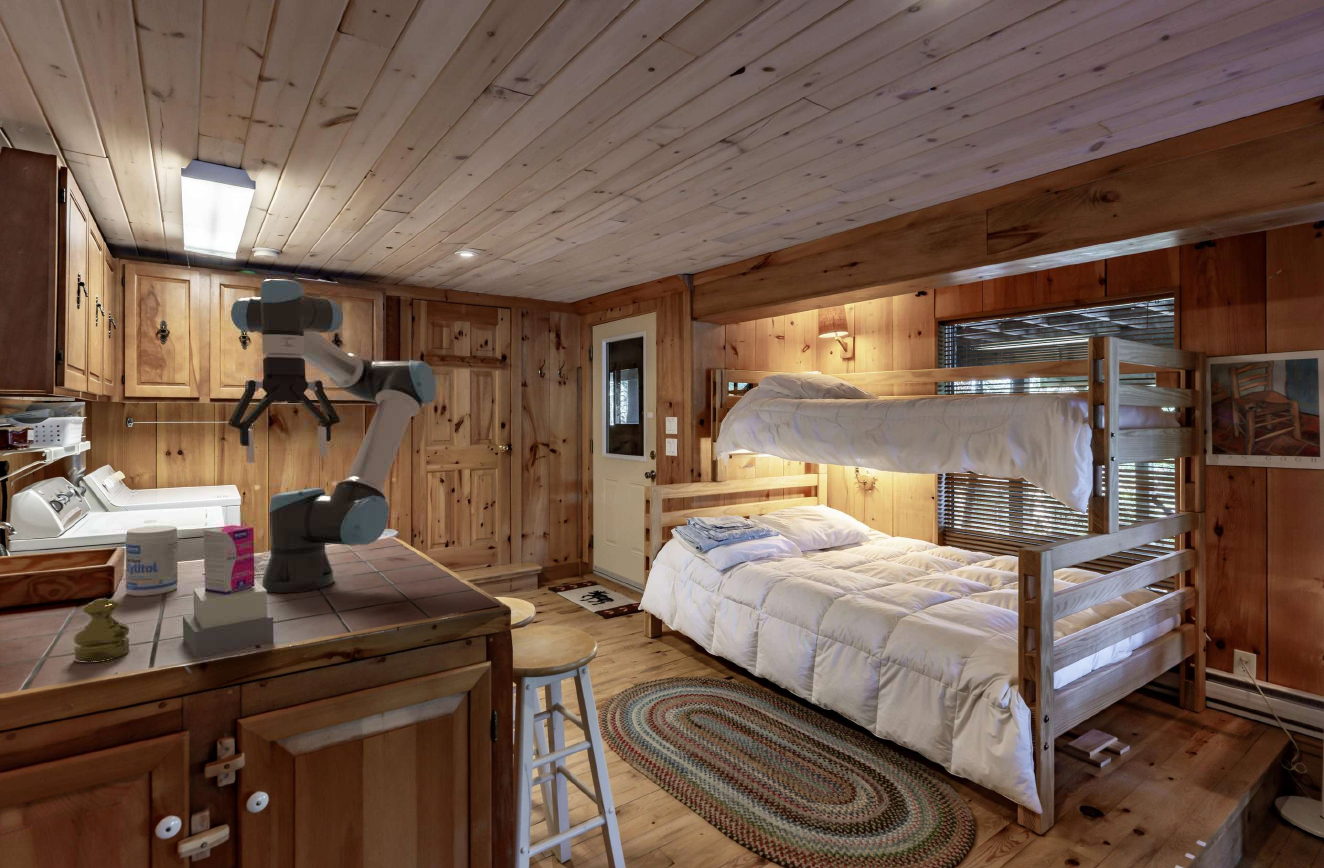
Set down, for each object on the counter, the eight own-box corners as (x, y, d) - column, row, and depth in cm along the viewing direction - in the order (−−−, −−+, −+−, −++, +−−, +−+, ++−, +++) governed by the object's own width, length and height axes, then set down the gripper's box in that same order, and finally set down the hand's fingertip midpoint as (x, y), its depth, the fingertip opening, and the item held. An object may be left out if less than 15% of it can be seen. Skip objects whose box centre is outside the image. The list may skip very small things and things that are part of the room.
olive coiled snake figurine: (90, 666, 110) (89, 608, 110) (64, 660, 113) (62, 602, 113) (139, 651, 117) (138, 596, 117) (113, 645, 120) (111, 591, 119)
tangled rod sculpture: (190, 584, 165) (189, 568, 164) (217, 565, 179) (216, 551, 178) (275, 579, 168) (274, 563, 168) (295, 561, 182) (294, 546, 182)
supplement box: (227, 595, 119) (224, 532, 118) (204, 591, 121) (201, 530, 120) (256, 586, 124) (254, 526, 124) (233, 583, 126) (231, 524, 126)
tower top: (194, 615, 123) (193, 588, 123) (255, 604, 130) (255, 579, 130) (202, 629, 116) (201, 601, 116) (267, 617, 123) (266, 590, 122)
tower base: (183, 642, 123) (182, 615, 123) (256, 627, 131) (256, 602, 131) (195, 660, 114) (195, 632, 114) (273, 643, 123) (273, 616, 123)
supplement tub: (119, 599, 147) (117, 533, 147) (134, 587, 156) (132, 526, 155) (172, 594, 151) (170, 531, 150) (183, 584, 160) (182, 523, 159)
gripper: (216, 354, 124) (222, 466, 126) (353, 358, 142) (356, 456, 143) (207, 355, 129) (212, 462, 131) (340, 358, 147) (343, 453, 149)
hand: (288, 459), depth 137 cm, fingers open, 13 cm apart
